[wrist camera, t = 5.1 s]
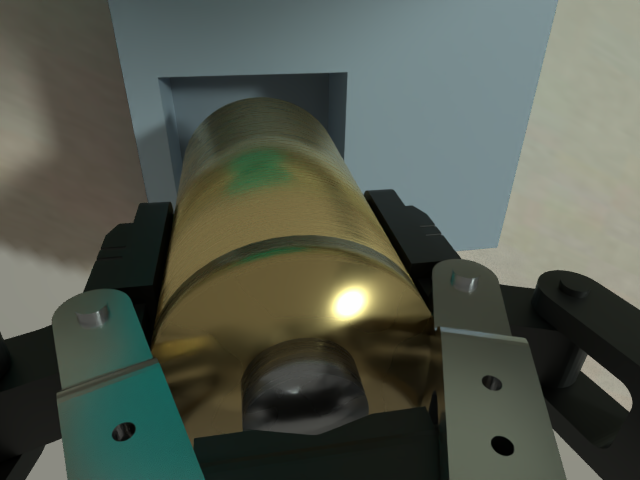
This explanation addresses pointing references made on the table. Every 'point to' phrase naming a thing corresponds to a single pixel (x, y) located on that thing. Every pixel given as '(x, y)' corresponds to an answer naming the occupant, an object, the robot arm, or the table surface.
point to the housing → (350, 89)
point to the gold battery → (282, 284)
